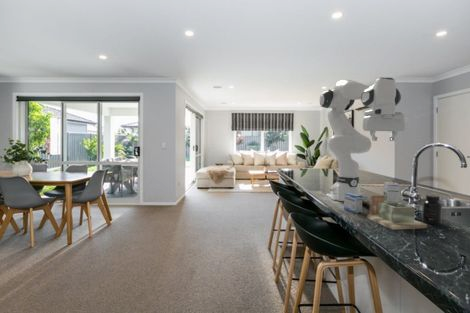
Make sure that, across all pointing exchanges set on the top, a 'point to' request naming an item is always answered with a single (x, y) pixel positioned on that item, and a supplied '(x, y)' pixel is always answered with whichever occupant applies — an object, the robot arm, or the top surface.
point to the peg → (375, 203)
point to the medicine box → (353, 202)
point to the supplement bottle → (432, 210)
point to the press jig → (396, 216)
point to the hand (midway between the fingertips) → (383, 140)
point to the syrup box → (391, 192)
